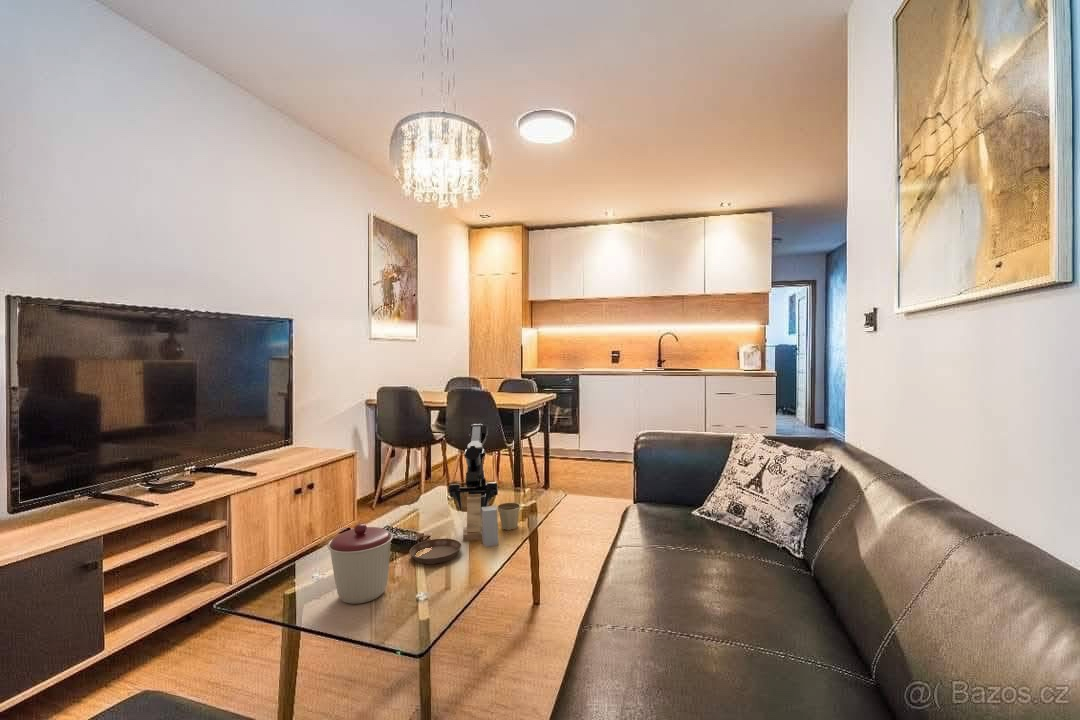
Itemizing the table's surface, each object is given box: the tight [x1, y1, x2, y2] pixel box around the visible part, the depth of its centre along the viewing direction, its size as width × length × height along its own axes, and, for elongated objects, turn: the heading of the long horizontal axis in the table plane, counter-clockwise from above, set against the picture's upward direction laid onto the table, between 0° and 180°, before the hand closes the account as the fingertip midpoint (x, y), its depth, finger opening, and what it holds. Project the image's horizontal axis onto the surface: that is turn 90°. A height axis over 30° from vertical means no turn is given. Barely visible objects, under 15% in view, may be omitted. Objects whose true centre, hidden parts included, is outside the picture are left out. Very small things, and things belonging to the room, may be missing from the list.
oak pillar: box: [466, 493, 482, 532], centre depth 188 cm, size 5×5×13 cm
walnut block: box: [462, 525, 482, 542], centre depth 188 cm, size 8×8×3 cm
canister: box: [327, 523, 394, 605], centre depth 144 cm, size 18×18×21 cm
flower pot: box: [496, 502, 521, 531], centre depth 197 cm, size 9×9×9 cm
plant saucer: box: [409, 538, 462, 565], centre depth 172 cm, size 18×18×3 cm
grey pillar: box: [481, 505, 499, 548], centre depth 181 cm, size 5×5×13 cm
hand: (472, 509), depth 187 cm, fingers open, 9 cm apart
